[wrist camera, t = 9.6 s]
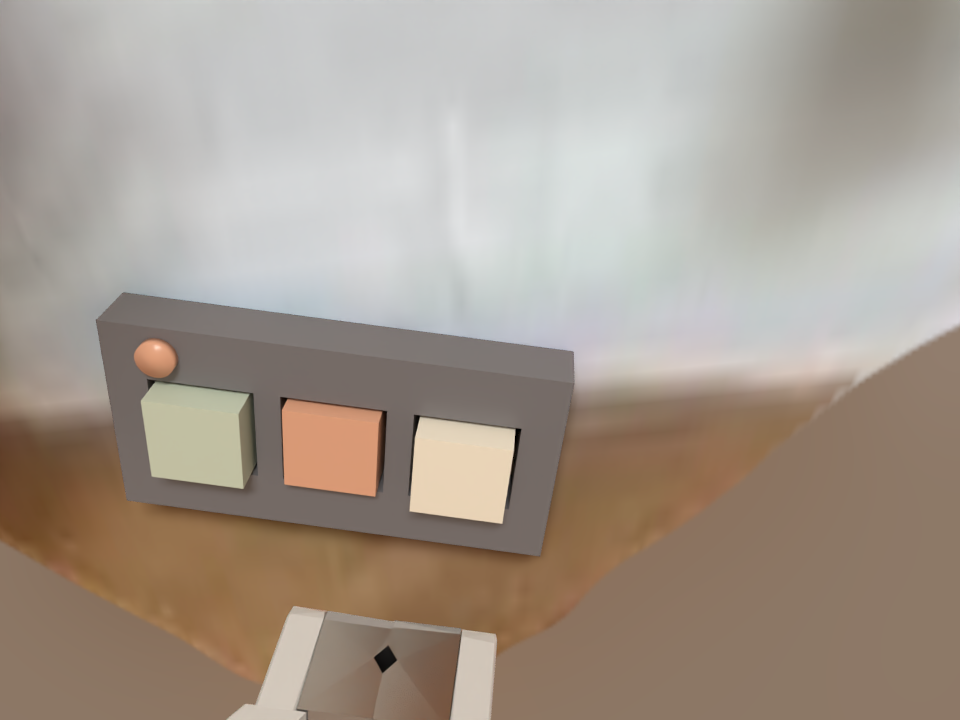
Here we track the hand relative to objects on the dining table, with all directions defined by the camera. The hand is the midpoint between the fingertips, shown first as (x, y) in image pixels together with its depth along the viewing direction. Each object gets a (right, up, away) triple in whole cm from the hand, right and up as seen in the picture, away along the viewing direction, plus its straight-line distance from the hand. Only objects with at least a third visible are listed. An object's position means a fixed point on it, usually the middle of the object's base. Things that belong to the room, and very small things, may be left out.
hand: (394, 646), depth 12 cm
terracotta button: (-6, +1, +34) cm, 34 cm away
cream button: (0, -1, +33) cm, 33 cm away
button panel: (-6, +1, +34) cm, 35 cm away
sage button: (-13, +1, +33) cm, 36 cm away
